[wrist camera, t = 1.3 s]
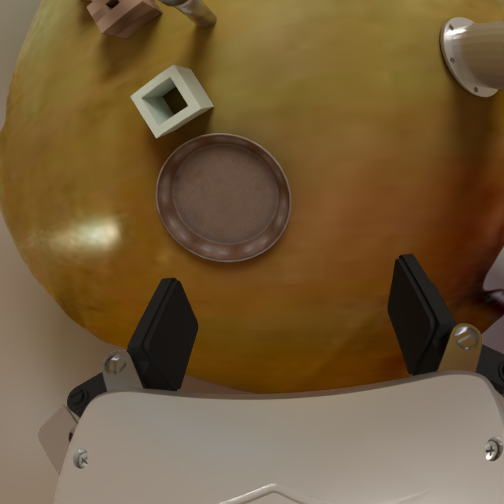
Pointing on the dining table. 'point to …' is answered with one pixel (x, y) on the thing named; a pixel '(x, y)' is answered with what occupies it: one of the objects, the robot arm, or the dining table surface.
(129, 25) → the narrow block
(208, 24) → the cylinder
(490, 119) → the dining table surface
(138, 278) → the dining table surface
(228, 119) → the dining table surface
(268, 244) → the plant saucer
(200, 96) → the wide bore block
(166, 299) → the robot arm
